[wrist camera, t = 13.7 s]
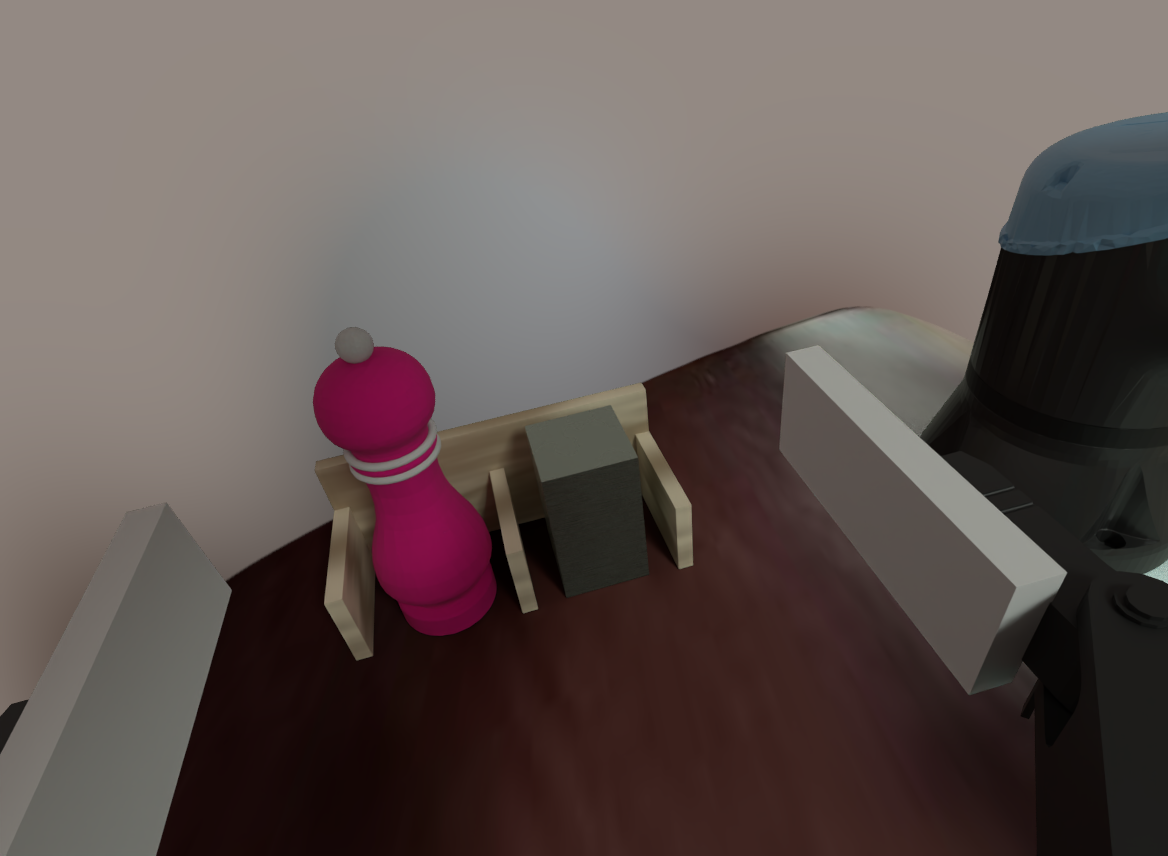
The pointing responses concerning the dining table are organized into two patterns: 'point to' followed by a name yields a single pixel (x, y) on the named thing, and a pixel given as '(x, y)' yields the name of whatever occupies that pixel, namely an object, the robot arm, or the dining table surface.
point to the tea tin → (590, 499)
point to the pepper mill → (406, 485)
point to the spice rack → (489, 501)
